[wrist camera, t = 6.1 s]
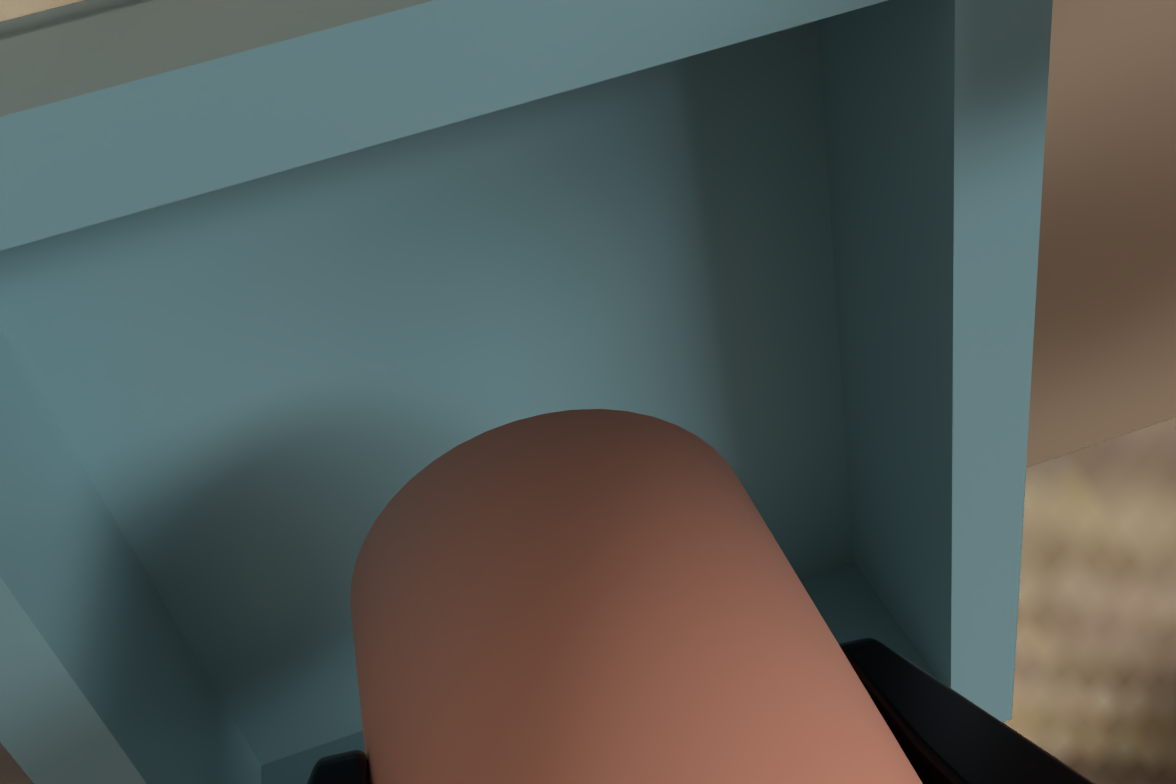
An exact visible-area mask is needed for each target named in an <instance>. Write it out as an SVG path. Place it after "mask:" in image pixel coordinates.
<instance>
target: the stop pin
mask: <svg viewBox="0 0 1176 784" xmlns="http://www.w3.org/2000/svg"><path fill="white" fill-rule="evenodd" d="M350 607H351V617H352V627H353V636H354V646H355V656H356V666H357V676H358V686H359V696H360V706H361V716H362V726H363V735H364V745H365V755H366V759H367V764H368V774H369V783H370V784H923V783H922V782H921V780H920V778H919V777H918V775H917V773H916V772H915V770H914V768H913V767H912V765H911V763H910V762H909V760H908V758H907V757H906V755H905V753H904V752H903V750H902V748H901V747H900V745H899V743H898V742H897V740H896V739H895V737H894V735H893V734H892V732H891V730H890V729H889V727H888V725H887V724H886V722H885V720H884V719H883V717H882V715H881V714H880V712H879V710H878V709H877V707H876V705H875V704H874V702H873V700H872V699H871V697H870V695H869V694H868V692H867V690H866V689H865V687H864V686H863V684H862V682H861V681H860V679H859V677H858V676H857V674H856V672H855V671H854V669H853V667H852V666H851V664H850V662H849V661H848V659H847V657H846V656H845V654H844V652H843V651H842V649H841V647H840V646H839V644H838V642H837V641H836V639H835V637H834V636H833V634H832V633H831V631H830V629H829V628H828V626H827V624H826V623H825V621H824V619H823V618H822V616H821V614H820V613H819V611H818V609H817V608H816V606H815V604H814V603H813V601H812V599H811V598H810V596H809V594H808V593H807V591H806V589H805V588H804V586H803V584H802V583H801V581H800V580H799V578H798V576H797V575H796V573H795V571H794V570H793V568H792V566H791V565H790V563H789V561H788V560H787V558H786V556H785V555H784V553H783V551H782V550H781V548H780V546H779V545H778V543H777V541H776V540H775V538H774V536H773V535H772V533H771V531H770V530H769V528H768V527H767V525H766V523H765V522H764V520H763V518H762V517H761V515H760V513H759V512H758V510H757V508H756V507H755V505H754V503H753V502H752V500H751V498H750V497H749V495H748V493H747V492H746V490H745V488H744V487H743V485H742V483H741V482H740V480H739V479H738V477H737V476H736V474H735V473H734V471H733V469H732V468H731V466H730V465H729V464H728V463H727V462H726V460H725V459H724V458H723V457H722V456H721V455H720V454H719V453H718V452H717V451H716V450H715V449H714V448H713V447H711V446H710V445H709V444H707V443H706V442H705V441H703V440H702V439H701V438H699V437H698V436H697V435H695V434H693V433H691V432H689V431H687V430H685V429H683V428H682V427H680V426H678V425H675V424H673V423H670V422H667V421H664V420H662V419H659V418H656V417H653V416H648V415H644V414H639V413H634V412H630V411H620V410H608V409H579V410H567V411H560V412H552V413H545V414H540V415H537V416H533V417H529V418H525V419H521V420H517V421H513V422H510V423H508V424H505V425H502V426H500V427H497V428H494V429H491V430H489V431H486V432H484V433H482V434H480V435H478V436H476V437H474V438H472V439H470V440H468V441H466V442H463V443H461V444H459V445H458V446H456V447H454V448H453V449H451V450H450V451H448V452H447V453H445V454H443V455H442V456H440V457H439V458H437V459H436V460H434V461H433V462H431V463H430V464H429V465H428V466H426V467H425V468H424V469H423V470H421V471H420V472H419V473H418V474H416V475H415V476H414V477H413V478H411V479H410V480H409V481H408V482H407V484H406V485H405V486H404V487H403V488H402V489H401V490H400V491H399V492H398V493H397V494H396V495H395V496H394V497H393V498H392V499H391V500H390V502H389V503H388V504H387V505H386V507H385V508H384V509H383V511H382V512H381V513H380V515H379V516H378V517H377V519H376V520H375V522H374V524H373V525H372V527H371V529H370V531H369V533H368V534H367V536H366V538H365V540H364V542H363V544H362V547H361V550H360V552H359V555H358V558H357V560H356V563H355V567H354V572H353V577H352V582H351V604H350Z"/></svg>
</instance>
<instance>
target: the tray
mask: <svg viewBox="0 0 1176 784" xmlns="http://www.w3.org/2000/svg"><path fill="white" fill-rule="evenodd" d="M1052 7H1053V0H84V1H80V2H76V3H72V4H68V5H65V6H61V7H57V8H53V9H49V10H45V11H41V12H38V13H34V14H30V15H26V16H22V17H18V18H14V19H11V20H7V21H3V22H0V743H1V744H2V745H3V746H4V748H5V749H6V750H7V751H8V753H9V754H10V755H11V756H12V758H13V759H14V760H15V761H16V763H17V764H18V765H19V766H20V768H21V769H22V770H23V771H24V772H25V774H26V775H27V776H28V777H29V779H30V780H31V781H32V782H33V784H307V782H308V780H309V777H310V775H311V772H312V770H313V767H314V766H315V764H316V762H317V761H318V760H319V759H321V758H323V757H325V756H330V755H334V754H339V753H344V752H348V751H353V750H360V751H363V752H364V754H365V745H364V735H363V726H362V716H361V706H360V696H359V686H358V676H357V666H356V656H355V646H354V636H353V627H352V617H351V607H350V604H351V582H352V577H353V572H354V567H355V563H356V560H357V558H358V555H359V552H360V550H361V547H362V544H363V542H364V540H365V538H366V536H367V534H368V533H369V531H370V529H371V527H372V525H373V524H374V522H375V520H376V519H377V517H378V516H379V515H380V513H381V512H382V511H383V509H384V508H385V507H386V505H387V504H388V503H389V502H390V500H391V499H392V498H393V497H394V496H395V495H396V494H397V493H398V492H399V491H400V490H401V489H402V488H403V487H404V486H405V485H406V484H407V482H408V481H409V480H410V479H411V478H413V477H414V476H415V475H416V474H418V473H419V472H420V471H421V470H423V469H424V468H425V467H426V466H428V465H429V464H430V463H431V462H433V461H434V460H436V459H437V458H439V457H440V456H442V455H443V454H445V453H447V452H448V451H450V450H451V449H453V448H454V447H456V446H458V445H459V444H461V443H463V442H466V441H468V440H470V439H472V438H474V437H476V436H478V435H480V434H482V433H484V432H486V431H489V430H491V429H494V428H497V427H500V426H502V425H505V424H508V423H510V422H513V421H517V420H521V419H525V418H529V417H533V416H537V415H540V414H545V413H552V412H560V411H567V410H579V409H608V410H620V411H630V412H634V413H639V414H644V415H648V416H653V417H656V418H659V419H662V420H664V421H667V422H670V423H673V424H675V425H678V426H680V427H682V428H683V429H685V430H687V431H689V432H691V433H693V434H695V435H697V436H698V437H699V438H701V439H702V440H703V441H705V442H706V443H707V444H709V445H710V446H711V447H713V448H714V449H715V450H716V451H717V452H718V453H719V454H720V455H721V456H722V457H723V458H724V459H725V460H726V462H727V463H728V464H729V465H730V466H731V468H732V469H733V471H734V473H735V474H736V476H737V477H738V479H739V480H740V482H741V483H742V485H743V487H744V488H745V490H746V492H747V493H748V495H749V497H750V498H751V500H752V502H753V503H754V505H755V507H756V508H757V510H758V512H759V513H760V515H761V517H762V518H763V520H764V522H765V523H766V525H767V527H768V528H769V530H770V531H771V533H772V535H773V536H774V538H775V540H776V541H777V543H778V545H779V546H780V548H781V550H782V551H783V553H784V555H785V556H786V558H787V560H788V561H789V563H790V565H791V566H792V568H793V570H794V571H795V573H796V575H797V576H798V578H799V580H800V581H801V583H802V584H803V586H804V588H805V589H806V591H807V593H808V594H809V596H810V598H811V599H812V601H813V603H814V604H815V606H816V608H817V609H818V611H819V613H820V614H821V616H822V618H823V619H824V621H825V623H826V624H827V626H828V628H829V629H830V631H831V633H832V634H833V636H834V637H835V639H836V641H837V642H838V644H839V643H844V642H848V641H853V640H857V639H862V638H873V639H876V640H879V641H880V642H882V643H884V644H885V645H887V646H888V647H890V648H891V649H893V650H894V651H896V652H897V653H899V654H900V655H902V656H903V657H905V658H906V659H908V660H909V661H911V662H912V663H914V664H915V665H917V666H918V667H920V668H921V669H923V670H924V671H926V672H927V673H929V674H930V675H932V676H933V677H935V678H936V679H938V680H939V681H941V682H942V683H944V684H945V685H947V686H948V687H950V688H951V689H953V690H954V691H956V692H957V693H959V694H960V695H962V696H963V697H965V698H966V699H968V700H969V701H971V702H972V703H974V704H975V705H977V706H978V707H980V708H981V709H983V710H984V711H986V712H987V713H989V714H990V715H992V716H993V717H995V718H996V719H998V720H999V721H1001V722H1004V721H1007V720H1010V719H1012V707H1013V690H1014V672H1015V655H1016V637H1017V620H1018V602H1019V585H1020V567H1021V550H1022V532H1023V515H1024V497H1025V480H1026V462H1027V445H1028V427H1029V410H1030V392H1031V375H1032V357H1033V340H1034V322H1035V305H1036V287H1037V270H1038V252H1039V235H1040V217H1041V200H1042V182H1043V165H1044V147H1045V130H1046V112H1047V95H1048V77H1049V60H1050V42H1051V25H1052Z"/></svg>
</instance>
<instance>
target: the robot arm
mask: <svg viewBox="0 0 1176 784" xmlns="http://www.w3.org/2000/svg"><path fill="white" fill-rule="evenodd" d="M839 646H840V647H841V649H842V651H843V652H844V654H845V656H846V657H847V659H848V661H849V662H850V664H851V666H852V667H853V669H854V671H855V672H856V674H857V676H858V677H859V679H860V681H861V682H862V684H863V686H864V687H865V689H866V690H867V692H868V694H869V695H870V697H871V699H872V700H873V702H874V704H875V705H876V707H877V709H878V710H879V712H880V714H881V715H882V717H883V719H884V720H885V722H886V724H887V725H888V727H889V729H890V730H891V732H892V734H893V735H894V737H895V739H896V740H897V742H898V743H899V745H900V747H901V748H902V750H903V752H904V753H905V755H906V757H907V758H908V760H909V762H910V763H911V765H912V767H913V768H914V770H915V772H916V773H917V775H918V777H919V778H920V780H921V782H922V783H923V784H1094V783H1093V782H1091V781H1090V780H1088V779H1087V778H1085V777H1084V776H1082V775H1081V774H1079V773H1078V772H1076V771H1075V770H1073V769H1072V768H1070V767H1069V766H1067V765H1066V764H1064V763H1063V762H1061V761H1060V760H1058V759H1057V758H1055V757H1054V756H1052V755H1051V754H1049V753H1048V752H1046V751H1045V750H1043V749H1042V748H1040V747H1039V746H1037V745H1036V744H1034V743H1033V742H1031V741H1030V740H1028V739H1027V738H1025V737H1024V736H1022V735H1021V734H1019V733H1018V732H1016V731H1015V730H1013V729H1012V728H1010V727H1009V726H1007V725H1006V724H1004V723H1003V722H1001V721H999V720H998V719H996V718H995V717H993V716H992V715H990V714H989V713H987V712H986V711H984V710H983V709H981V708H980V707H978V706H977V705H975V704H974V703H972V702H971V701H969V700H968V699H966V698H965V697H963V696H962V695H960V694H959V693H957V692H956V691H954V690H953V689H951V688H950V687H948V686H947V685H945V684H944V683H942V682H941V681H939V680H938V679H936V678H935V677H933V676H932V675H930V674H929V673H927V672H926V671H924V670H923V669H921V668H920V667H918V666H917V665H915V664H914V663H912V662H911V661H909V660H908V659H906V658H905V657H903V656H902V655H900V654H899V653H897V652H896V651H894V650H893V649H891V648H890V647H888V646H887V645H885V644H884V643H882V642H880V641H879V640H876V639H873V638H862V639H857V640H853V641H848V642H844V643H839ZM307 784H370V783H369V774H368V764H367V759H366V755H365V754H364V752H363V751H360V750H353V751H348V752H344V753H339V754H334V755H330V756H325V757H323V758H321V759H319V760H318V761H317V762H316V764H315V766H314V767H313V770H312V772H311V775H310V777H309V780H308V782H307Z"/></svg>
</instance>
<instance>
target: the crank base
mask: <svg viewBox="0 0 1176 784" xmlns="http://www.w3.org/2000/svg"><path fill="white" fill-rule="evenodd" d="M1174 417H1176V0H1053V7H1052V25H1051V42H1050V60H1049V77H1048V95H1047V112H1046V130H1045V147H1044V165H1043V182H1042V200H1041V217H1040V235H1039V252H1038V270H1037V287H1036V305H1035V322H1034V340H1033V357H1032V375H1031V392H1030V410H1029V427H1028V445H1027V462H1026V468H1027V467H1030V466H1033V465H1036V464H1039V463H1042V462H1045V461H1047V460H1050V459H1053V458H1056V457H1059V456H1062V455H1065V454H1068V453H1071V452H1074V451H1077V450H1080V449H1083V448H1086V447H1089V446H1092V445H1095V444H1098V443H1101V442H1103V441H1106V440H1109V439H1112V438H1115V437H1118V436H1121V435H1124V434H1127V433H1130V432H1133V431H1136V430H1139V429H1142V428H1145V427H1148V426H1151V425H1154V424H1157V423H1159V422H1162V421H1165V420H1168V419H1171V418H1174Z"/></svg>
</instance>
